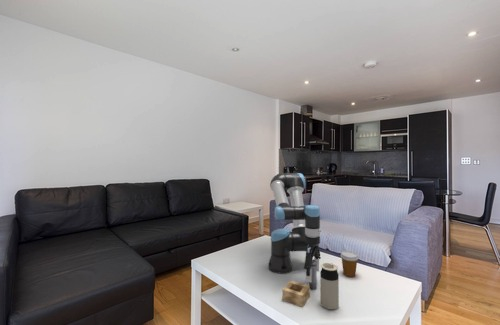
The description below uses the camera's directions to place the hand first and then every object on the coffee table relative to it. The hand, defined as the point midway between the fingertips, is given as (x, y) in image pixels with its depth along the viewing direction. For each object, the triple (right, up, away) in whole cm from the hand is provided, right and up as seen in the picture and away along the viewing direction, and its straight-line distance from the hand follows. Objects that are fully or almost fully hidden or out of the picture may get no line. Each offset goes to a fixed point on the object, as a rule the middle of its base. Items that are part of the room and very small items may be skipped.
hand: (312, 276), depth 121 cm
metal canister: (0, -6, 0) cm, 6 cm away
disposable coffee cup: (+25, -6, +14) cm, 30 cm away
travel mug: (+4, -7, -14) cm, 16 cm away
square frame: (-10, -7, -9) cm, 15 cm away
